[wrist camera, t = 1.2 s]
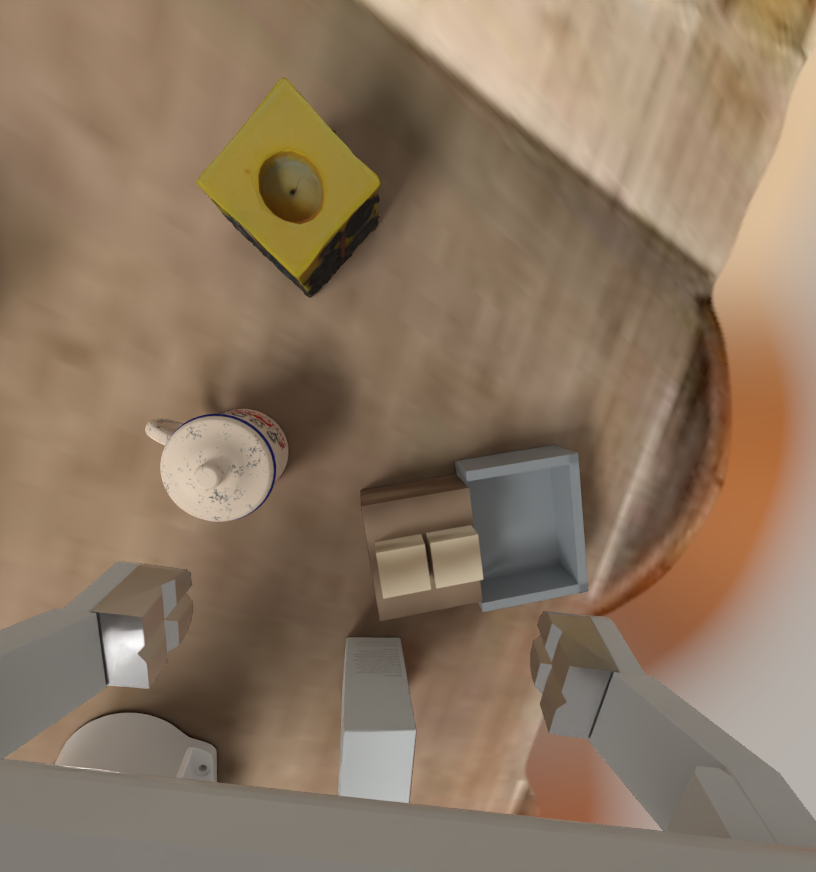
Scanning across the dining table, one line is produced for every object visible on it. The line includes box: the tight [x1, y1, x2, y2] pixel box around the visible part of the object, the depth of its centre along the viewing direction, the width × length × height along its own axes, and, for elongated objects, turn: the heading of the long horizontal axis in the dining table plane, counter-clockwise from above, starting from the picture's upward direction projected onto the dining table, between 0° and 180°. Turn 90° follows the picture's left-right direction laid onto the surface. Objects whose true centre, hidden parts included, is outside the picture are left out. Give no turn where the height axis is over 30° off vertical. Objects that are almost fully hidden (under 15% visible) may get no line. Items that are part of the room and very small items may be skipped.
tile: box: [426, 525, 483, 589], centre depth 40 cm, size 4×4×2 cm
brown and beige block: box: [361, 475, 483, 622], centre depth 44 cm, size 12×10×6 cm
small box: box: [338, 637, 417, 803], centre depth 42 cm, size 8×6×13 cm
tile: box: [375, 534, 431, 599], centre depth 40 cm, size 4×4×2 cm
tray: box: [455, 445, 588, 612], centre depth 45 cm, size 15×12×5 cm
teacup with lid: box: [145, 409, 288, 522], centre depth 37 cm, size 12×9×12 cm
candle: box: [196, 78, 381, 298], centre depth 36 cm, size 10×10×10 cm
